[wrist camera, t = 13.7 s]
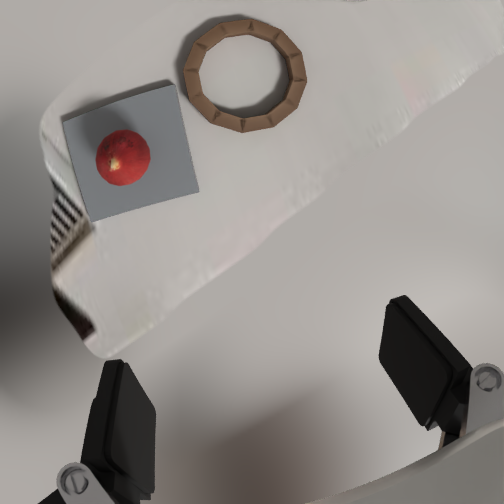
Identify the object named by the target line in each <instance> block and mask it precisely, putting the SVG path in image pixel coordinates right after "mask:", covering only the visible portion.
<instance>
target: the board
mask: <svg viewBox="0 0 504 504" xmlns="http://www.w3.org/2000/svg"><path fill="white" fill-rule="evenodd" d="M63 127H64V131H65V135H66V139H67V143H68V147H69V151H70V155H71V159H72V163H73V166H74V170H75V173H76V177H77V180H78V183H79V187H80V190H81V193H82V196H83V199H84V202H85V205H86V208H87V211H88V214H89V217H90V220H91V222H94V221H98V220H101V219H104V218H107V217H111V216H114V215H117V214H121V213H124V212H127V211H131V210H134V209H138V208H141V207H145V206H148V205H152V204H156V203H159V202H163V201H167V200H170V199H174V198H178V197H182V196H186V195H190V194H194V193H198V192H199V187H198V183H197V179H196V175H195V171H194V166H193V162H192V158H191V154H190V149H189V145H188V141H187V136H186V132H185V127H184V123H183V118H182V114H181V109H180V104H179V100H178V95H177V90H176V86H175V84H173V85H170V86H166V87H162V88H158V89H155V90H151V91H148V92H145V93H141V94H138V95H135V96H132V97H128V98H125V99H122V100H119V101H116V102H114V103H111V104H108V105H105V106H102V107H100V108H97V109H94V110H92V111H89V112H87V113H84V114H82V115H79V116H77V117H74V118H72V119H69V120H67V121H65V122H63ZM126 129H128V130H131V131H134V132H137V133H138V134H140V135H141V136H142V137H143V138H144V139H145V140H146V142H147V144H148V146H149V148H150V158H151V160H150V163H149V166H148V169H147V171H146V172H145V173H144V175H143V176H142V177H141V178H140V179H139V180H137V181H135V182H134V183H132V184H129V185H123V186H117V185H112V184H109V183H108V182H107V181H106V180H104V179H103V178H102V177H101V175H100V174H99V172H98V170H97V167H96V161H95V159H96V154H97V148H98V146H99V145H100V143H101V142H102V140H103V139H104V138H105V137H106V136H108V135H109V134H111V133H113V132H114V131H116V130H126Z"/></svg>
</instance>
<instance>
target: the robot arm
mask: <svg viewBox="0 0 504 504" xmlns="http://www.w3.org/2000/svg"><path fill="white" fill-rule="evenodd" d="M346 1H365V0H346ZM379 360H380V363H381V365H382V366H383V368H384V369H385V371H386V372H387V374H388V375H389V377H390V378H391V380H392V382H393V383H394V385H395V386H396V388H397V389H398V391H399V393H400V394H401V396H402V397H403V399H404V400H405V402H406V404H407V405H408V407H409V408H410V410H411V412H412V413H413V415H414V416H415V418H416V420H417V421H418V423H419V424H420V425H421V426H425V428H426V429H427V431H429V430H431V429H433V428H435V427H436V426H438V425H439V427H440V428H441V430H442V433H441V438H440V444H439V448H438V450H437V451H436V452H434V453H432V454H430V455H428V456H426V457H424V458H422V459H420V460H418V461H416V462H414V463H412V464H410V465H408V466H406V467H404V468H402V469H400V470H397V471H395V472H393V473H391V474H389V475H386V476H384V477H382V478H379V479H377V480H374V481H372V482H369V483H367V484H364V485H362V486H359V487H356V488H354V489H351V490H348V491H345V492H342V493H339V494H336V495H333V496H330V497H327V498H323V499H320V500H317V501H313V502H309V503H306V504H504V374H503V372H502V371H501V370H500V369H499V368H498V367H497V366H495V365H493V364H488V363H486V364H485V363H484V364H480V365H478V366H476V367H475V368H474V369H473V368H472V367H471V365H470V364H469V363H468V361H467V360H466V359H465V358H464V357H463V356H462V355H461V353H460V352H459V351H458V350H457V349H456V348H455V347H454V346H453V345H452V343H451V342H450V341H449V340H448V339H447V338H446V337H445V336H444V335H443V333H442V332H441V331H439V329H438V328H437V327H436V326H435V325H434V324H433V323H432V322H431V321H430V320H429V318H428V317H427V316H426V315H425V314H424V313H423V312H422V311H421V310H420V309H419V308H418V307H417V306H416V305H415V304H414V303H413V302H412V301H411V300H410V299H409V298H408V297H407V296H406V295H403V296H400V297H397V298H394V299H391V300H390V302H389V304H388V305H387V306H386V312H385V319H384V326H383V332H382V339H381V345H380V350H379ZM155 427H156V411H155V408H154V406H153V404H152V403H151V401H150V400H149V398H148V396H147V395H146V393H145V392H144V390H143V388H142V387H141V385H140V383H139V382H138V380H137V378H136V376H135V375H134V373H133V372H132V369H131V368H130V366H129V364H128V363H124V362H123V361H122V360H121V359H118V360H109V361H106V362H105V363H104V367H103V370H102V374H101V378H100V382H99V387H98V391H97V395H96V398H94V399H93V402H92V405H91V409H90V414H89V418H88V423H87V428H86V433H85V439H84V444H83V449H82V455H81V461H80V463H77V462H74V463H69V464H67V465H65V466H64V467H63V468H62V469H61V470H60V472H59V473H58V476H57V487H58V489H57V490H55V491H54V492H53V493H51V494H50V495H49V496H48V497H46V498H45V499H43V500H42V501H41V502H40V503H38V504H140V500H151V495H150V494H151V493H154V490H155V483H154V482H155V472H154V470H155Z"/></svg>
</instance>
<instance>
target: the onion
mask: <svg viewBox="0 0 504 504" xmlns="http://www.w3.org/2000/svg"><path fill="white" fill-rule="evenodd" d="M150 160H151V158H150V148H149V146H148V144H147V142H146V140H145V139H144V138H143V137H142V136H141V135H140V134H138V133H137V132H134V131H131V130H128V129H126V130H116V131H114V132H113V133H111V134H109V135H108V136H106V137H105V138H104V139H103V140H102V142H101V143H100V145H99V146H98V148H97V154H96V159H95V161H96V167H97V170H98V172H99V174H100V175H101V177H102V178H103V179H104V180H106V181H107V182H108V183H109V184H112V185H117V186H123V185H129V184H132V183H134V182H135V181H137V180H139V179H140V178H141V177H142V176H143V175H144V173H145V172H146V171H147V169H148V166H149V163H150Z"/></svg>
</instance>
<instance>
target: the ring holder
mask: <svg viewBox="0 0 504 504" xmlns="http://www.w3.org/2000/svg"><path fill="white" fill-rule="evenodd" d="M241 35H251V36H254V37H257V38H260V39H263V40H265V41H268V42H271V43H272V45H273V46H274V47H275V48H276V49H277V50H278V51H279V52H280V53H281V55H282V56H283V57H284V58H285V59H286V64H287V69H288V74H289V79H290V81H289V84H288V86H287V89H286V92H285V94H284V97H283V100H282V101H281V102H280V103H278V104H277V105H276V106H275V107H273V108H272V109H271V110H270V111H268V112H267V113H266V114H265V115H259V116H254V117H248V118H240V117H237V116H233V115H230V114H227V113H224V112H221V111H219V110H218V109H217V108H216V107H215V106H214V105H213V104H212V103H211V102H210V101H209V99H208V98H207V97H206V96H205V95H204V94H203V92H202V87H201V82H200V77H199V73H198V72H199V69H200V66H201V64H202V61H203V59H204V56H205V54H206V52H207V51H208V50H209V49H211V48H212V47H213V46H215V45H216V44H217V43H219V42H220V41H221V40H223V39H224V38H227V37H234V36H241ZM183 73H184V78H185V83H186V87H187V92H188V97H189V101H190V102H191V103H192V104H193V105H194V106H195V107H196V108H197V109H198V111H199V112H200V113H201V114H202V115H203V116H204V117H205V118H206V119H207V120H208V121H209V122H210V123H211V124H215V125H218V126H221V127H225V128H228V129H231V130H234V131H237V132H241V133H245V132H250V131H255V130H261V129H266V128H272V127H275V126H276V125H277V124H278V123H279V122H281V121H282V120H283V119H284V118H286V117H287V116H288V115H289V114H291V113H292V112H293V111H294V110H296V109H297V107H298V105H299V102H300V99H301V97H302V94H303V91H304V89H305V86H306V83H307V77H306V71H305V66H304V61H303V56H302V52H301V51H300V50H299V49H298V48H297V46H296V45H295V44H294V43H293V42H292V41H291V40H290V39H289V37H288V36H287V35H286V34H285V33H284V32H283V31H282V30H281V29H278V28H276V27H273V26H270V25H268V24H265V23H262V22H259V21H257V20H254V19H246V20H238V21H231V22H224V23H219V24H218V25H216V26H215V27H214V28H212V29H211V30H209V31H208V32H207V33H205V34H204V35H203V36H201V37H200V38H199V39H197V40H196V41H195V42H194V44H193V46H192V49H191V51H190V54H189V56H188V59H187V61H186V64H185V66H184V69H183Z"/></svg>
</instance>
